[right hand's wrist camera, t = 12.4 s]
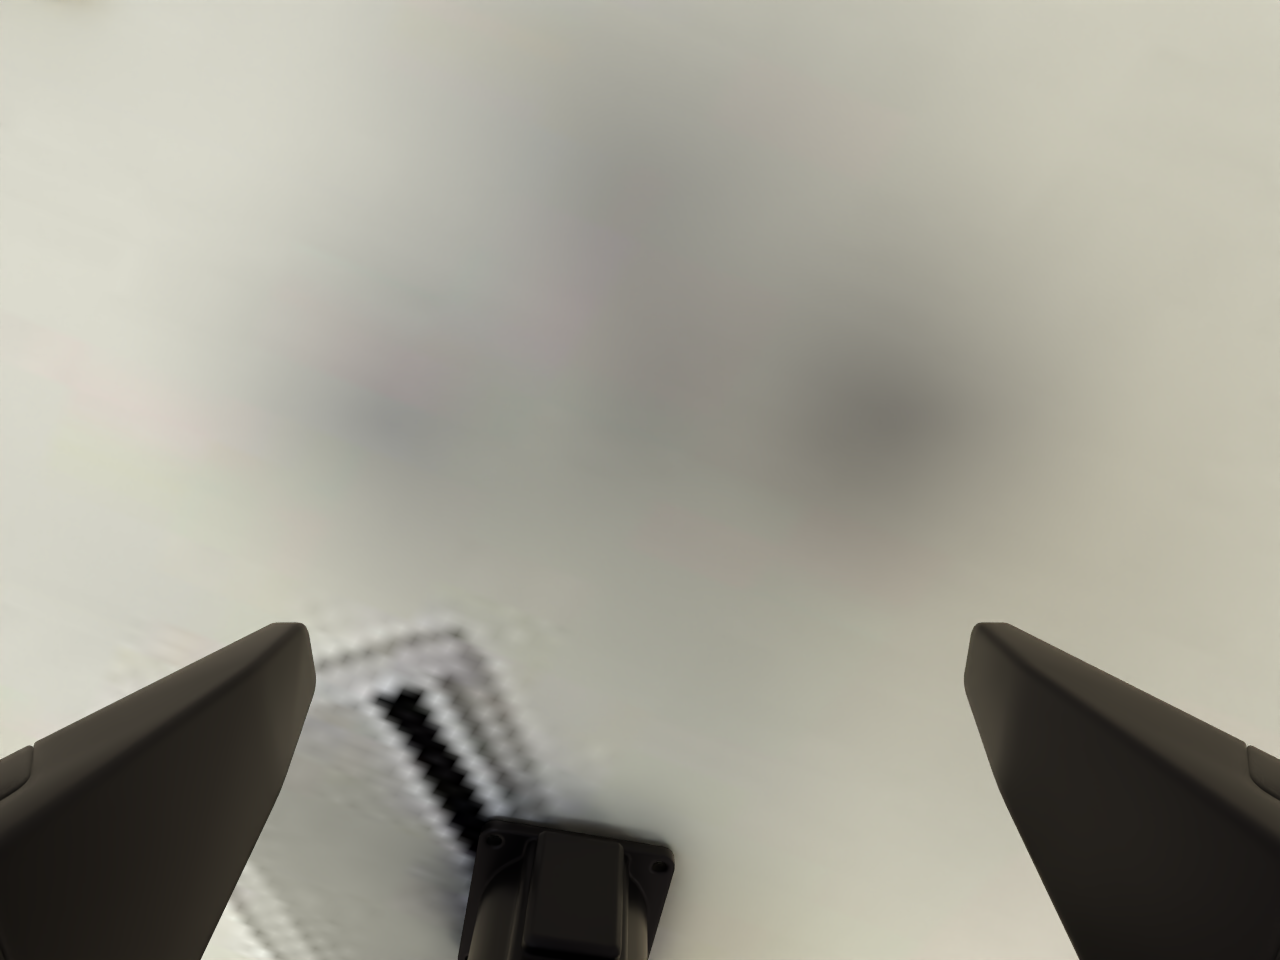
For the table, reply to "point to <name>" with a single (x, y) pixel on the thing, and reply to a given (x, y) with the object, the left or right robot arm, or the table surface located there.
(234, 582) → the table surface
